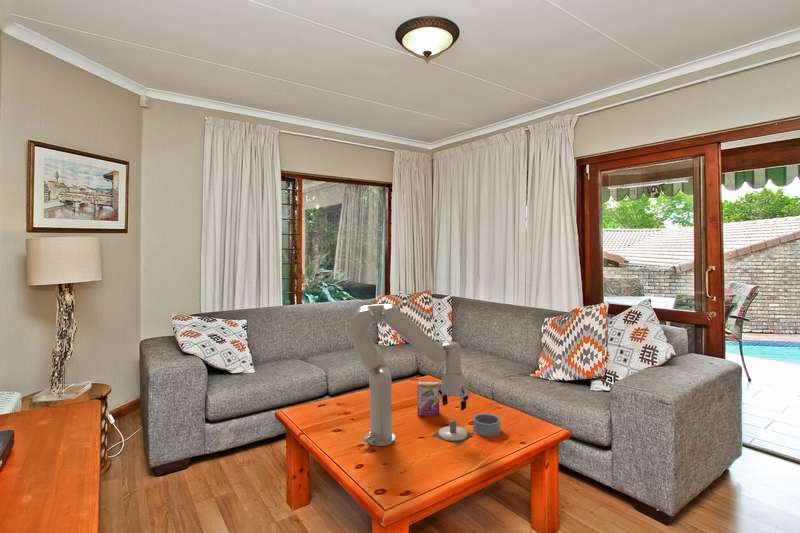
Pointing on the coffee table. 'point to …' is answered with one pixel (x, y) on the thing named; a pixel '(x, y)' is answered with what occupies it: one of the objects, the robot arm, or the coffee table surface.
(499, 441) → the coffee table surface
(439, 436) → the mat
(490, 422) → the pot
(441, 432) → the lid
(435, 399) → the candy bar box
